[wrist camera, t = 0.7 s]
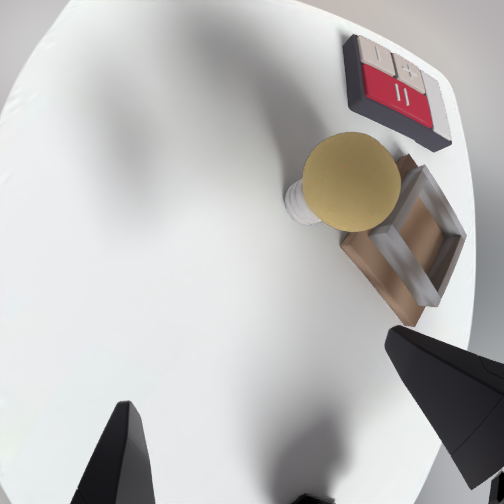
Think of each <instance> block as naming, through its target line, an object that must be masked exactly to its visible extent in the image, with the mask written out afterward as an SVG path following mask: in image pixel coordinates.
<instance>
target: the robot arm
mask: <svg viewBox="0 0 504 504" xmlns="http://www.w3.org/2000/svg"><path fill="white" fill-rule="evenodd" d="M385 350H386V352H387V354H388V356H389V357H390V359H391V361H392V363H393V365H394V367H395V368H396V370H397V372H398V374H399V376H400V378H401V380H402V381H403V383H404V384H405V386H406V387H407V389H408V390H409V392H410V393H411V395H412V396H413V398H414V399H415V401H416V402H417V404H418V405H419V407H420V408H421V410H422V411H423V413H424V414H425V416H426V418H427V419H428V421H429V422H430V424H431V425H432V427H433V428H434V430H435V432H436V433H437V435H438V436H439V438H440V439H441V441H442V443H443V444H444V446H445V447H446V449H447V451H448V452H449V454H450V455H451V457H452V459H453V461H454V462H455V464H456V466H457V467H458V469H459V471H460V472H461V474H462V476H463V478H464V479H465V481H466V483H467V485H468V486H469V488H470V489H471V490H472V489H474V488H476V487H477V486H478V485H480V484H481V483H483V482H484V481H486V480H487V479H488V478H489V477H491V476H492V475H493V474H495V473H496V472H498V471H499V470H500V469H501V471H500V472H499V473H498V474H497V475H496V476H495V477H494V479H493V480H492V481H491V489H490V496H489V503H488V504H504V364H502V363H499V362H496V361H493V360H490V359H487V358H484V357H482V356H478V355H476V354H474V353H471V352H468V351H466V350H463V349H460V348H458V347H455V346H453V345H450V344H447V343H445V342H442V341H439V340H437V339H434V338H432V337H429V336H426V335H424V334H421V333H419V332H416V331H414V330H411V329H408V328H406V327H403V326H401V325H397V326H394V327H392V328H390V329H389V331H388V334H387V338H386V341H385ZM70 504H155V497H154V490H153V483H152V474H151V466H150V459H149V454H148V450H147V445H146V441H145V436H144V431H143V425H142V420H141V417H140V414H139V413H138V411H137V410H136V408H135V407H134V405H133V403H132V402H131V401H120V402H118V403H117V405H116V407H115V409H114V411H113V413H112V415H111V417H110V419H109V421H108V423H107V425H106V427H105V429H104V431H103V433H102V435H101V437H100V439H99V441H98V443H97V446H96V448H95V450H94V452H93V454H92V456H91V458H90V460H89V463H88V465H87V467H86V469H85V471H84V474H83V476H82V478H81V480H80V483H79V485H78V489H76V492H75V494H74V496H73V498H72V501H71V503H70ZM293 504H336V503H334V502H331V501H327V500H324V499H321V498H318V497H315V496H312V495H309V494H304V495H302V496H301V497H300V498H299V499H297V500H296V501H295V502H294V503H293Z"/></svg>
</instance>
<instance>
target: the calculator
mask: <svg viewBox="0 0 504 504" xmlns="http://www.w3.org/2000/svg"><path fill="white" fill-rule="evenodd" d="M343 53H344V62H345V72H346V82H347V94H348V106H349V109H350V110H351V111H353V112H356V113H358V114H360V115H362V116H365V117H367V118H369V119H371V120H373V121H375V122H378V123H380V124H382V125H384V126H386V127H388V128H390V129H393V130H395V131H397V132H399V133H401V134H403V135H405V136H407V137H409V138H411V139H413V140H415V142H416V143H418V144H420V145H422V146H423V147H425V148H427V149H429V150H430V151H432V152H436V151H439V150H441V149H443V148H445V147H448V146H450V145H451V144H452V141H451V133H450V128H449V123H448V119H447V114H446V110H445V106H444V102H443V98H442V94H441V91H440V87H439V84H438V81H437V80H435V79H434V78H432V77H431V76H429V75H428V74H426V73H425V72H423V71H422V70H419V68H418V67H417V66H416V65H414V64H412V63H411V62H409V61H407V60H406V59H404V58H402V57H401V56H399V55H397V54H395V53H391V52H390V51H389V50H388V49H386V48H385V47H383V46H381V45H379V44H377V43H375V42H373V41H371V40H369V39H367V38H365V37H363V36H361V35H359V36H357V35H355V34H353V35H352V36H351V37H350V38H349V39H348V40H347V42H346V43H345V44H344V45H343Z"/></svg>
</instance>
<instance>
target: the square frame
mask: <svg viewBox="0 0 504 504" xmlns="http://www.w3.org/2000/svg"><path fill="white" fill-rule="evenodd" d="M396 165H397V168H398V171H399V173H400V178H401V190H400V194H399V198H398V201H397V203H396V205H395V207H394V209H393V210H392V212H391V213H390V214H389V216H388V217H387V218H386V219H385V220H384V221H383V222H382V223H380V224H378V225H377V226H375V227H373V228H371V229H368V230H365V231H358V232H349V234H348V235H347V237H346V238H345V239H344V241H343V242H342V244H341V245H340V247H341V248H342V249H343V250H344V251H345V252H346V254H347V255H348V256H349V257H350V258H351V259H352V261H353V262H354V263H355V264H356V265H357V267H358V268H359V269H360V270H361V271H362V273H363V274H364V275H365V276H366V277H367V279H368V280H369V281H370V282H371V283H372V285H373V286H374V287H375V288H376V290H377V291H378V292H379V293H380V295H381V296H382V297H383V298H384V300H385V301H386V302H387V303H388V305H389V306H390V307H391V308H392V310H393V311H394V312H395V314H396V315H397V316H398V318H399V319H400V320H401V321H402V323H403V324H404V325H405V326H412V327H415V325H416V324H417V322H418V320H419V318H420V316H421V314H422V312H423V310H424V308H425V307H426V306H429V307H438V305H439V303H440V301H441V298H442V296H443V294H444V292H445V290H446V287H447V285H448V283H449V280H450V278H451V276H452V273H453V271H454V268H455V266H456V263H457V261H458V258H459V256H460V253H461V250H462V247H463V245H464V242H465V239H466V236H467V235H466V233H465V231H464V229H463V227H462V225H461V224H460V222H459V220H458V218H457V216H456V214H455V213H454V211H453V209H452V207H451V205H450V204H449V202H448V200H447V199H446V197H445V195H444V194H443V192H442V190H441V189H440V187H439V185H438V184H437V182H436V181H435V179H434V177H433V176H432V174H431V173H430V171H429V170H428V168H427V167H426V165H423V166H420V167H418V166H417V165H416V163H415V162H414V160H413V159H412V157H411V156H410V155H409V154H407V155H405V156H403V157H401V158H399V160H398V162H397V163H396Z"/></svg>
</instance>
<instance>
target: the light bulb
mask: <svg viewBox="0 0 504 504" xmlns="http://www.w3.org/2000/svg"><path fill="white" fill-rule="evenodd" d="M400 190H401V178H400V173H399V171H398V168H397V165H396V163H395V162H394V160H393V158H392V157H391V155H390V154H389V152H388V151H387V150H386V149H385V148H384V147H383V146H382V145H381V144H380V143H379V142H378V141H377V140H376V139H374V138H373V137H371V136H369V135H367V134H364V133H358V132H346V133H340V134H336V135H334V136H331V137H329V138H327V139H325V140H324V141H322V142H321V143H319V144H318V145H317V146H316V147H315V148H314V149H313V151H312V152H311V154H310V155H309V157H308V159H307V161H306V164H305V167H304V170H303V177H302V178H301V179H300V180H298V181H297V182H295V183H293V184H292V185H291V186H290V187H289V189H288V190H287V193H286V196H285V204H286V208H287V211H288V213H289V214H290V216H291V217H292V218H293V219H294V220H295V221H297V222H298V223H300V224H304V225H312V224H315V223H319V222H322V221H323V222H324V223H326V224H327V225H329V226H331V227H333V228H335V229H338V230H342V231H348V232H358V231H365V230H368V229H371V228H373V227H375V226H377V225H378V224H380V223H382V222H383V221H384V220H385V219H386V218H387V217H388V216H389V214H390V213H391V212H392V210H393V209H394V207H395V205H396V203H397V201H398V198H399V194H400Z"/></svg>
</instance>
